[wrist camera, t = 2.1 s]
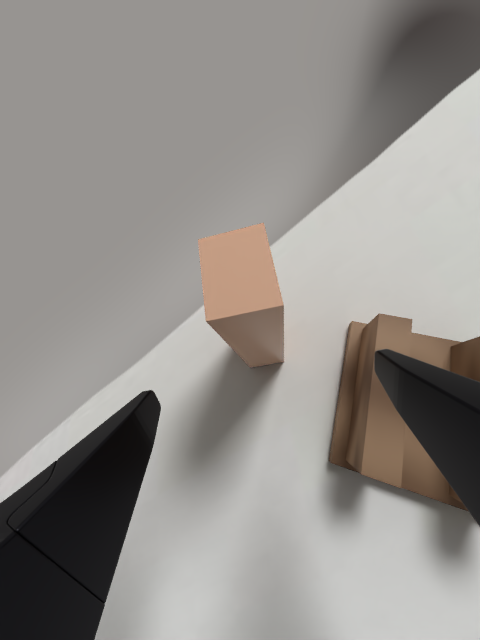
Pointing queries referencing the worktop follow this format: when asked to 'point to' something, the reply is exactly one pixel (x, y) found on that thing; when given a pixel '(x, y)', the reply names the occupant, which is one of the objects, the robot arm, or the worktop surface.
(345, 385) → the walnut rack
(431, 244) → the worktop surface
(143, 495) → the worktop surface
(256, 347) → the clay block
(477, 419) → the robot arm
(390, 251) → the worktop surface
